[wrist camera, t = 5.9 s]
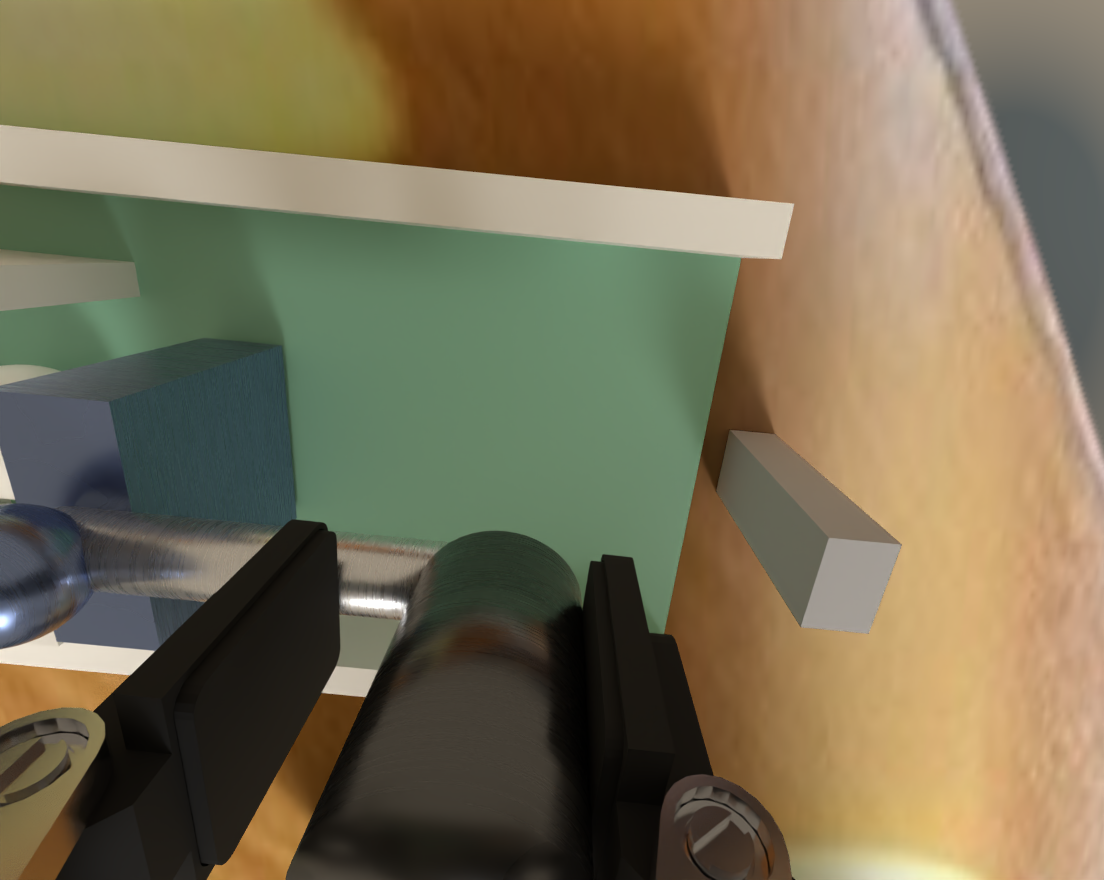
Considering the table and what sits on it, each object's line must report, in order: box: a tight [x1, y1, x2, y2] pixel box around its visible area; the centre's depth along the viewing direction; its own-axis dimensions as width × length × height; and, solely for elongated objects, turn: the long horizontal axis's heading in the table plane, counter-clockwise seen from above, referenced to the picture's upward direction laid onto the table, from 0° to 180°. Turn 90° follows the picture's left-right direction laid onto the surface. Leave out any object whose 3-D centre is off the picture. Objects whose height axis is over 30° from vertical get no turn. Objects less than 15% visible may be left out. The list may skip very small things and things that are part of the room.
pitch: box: [0, 125, 902, 697], centre depth 15 cm, size 28×16×7 cm, turn 85°
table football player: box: [0, 338, 594, 880], centre depth 11 cm, size 12×6×12 cm, turn 85°
